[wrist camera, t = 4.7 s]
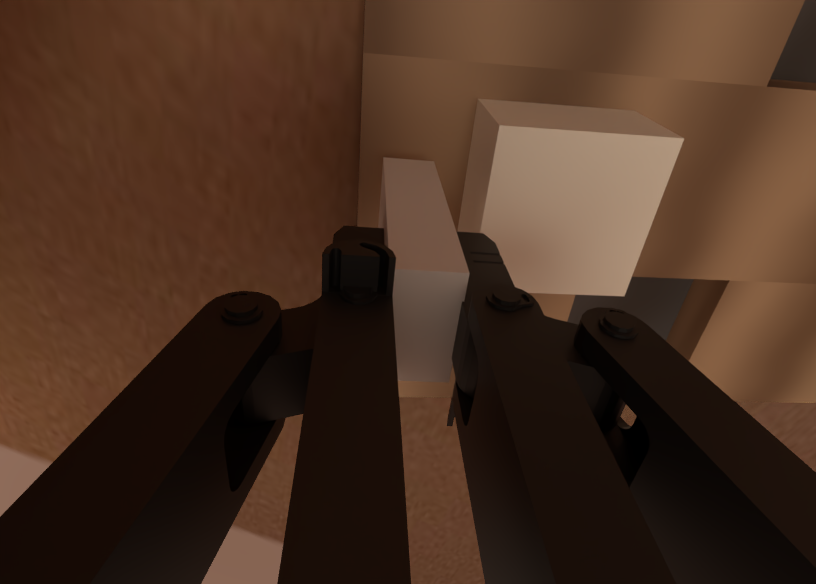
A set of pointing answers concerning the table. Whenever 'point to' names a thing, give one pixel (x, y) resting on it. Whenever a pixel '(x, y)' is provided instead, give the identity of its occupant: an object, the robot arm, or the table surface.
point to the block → (566, 192)
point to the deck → (667, 106)
